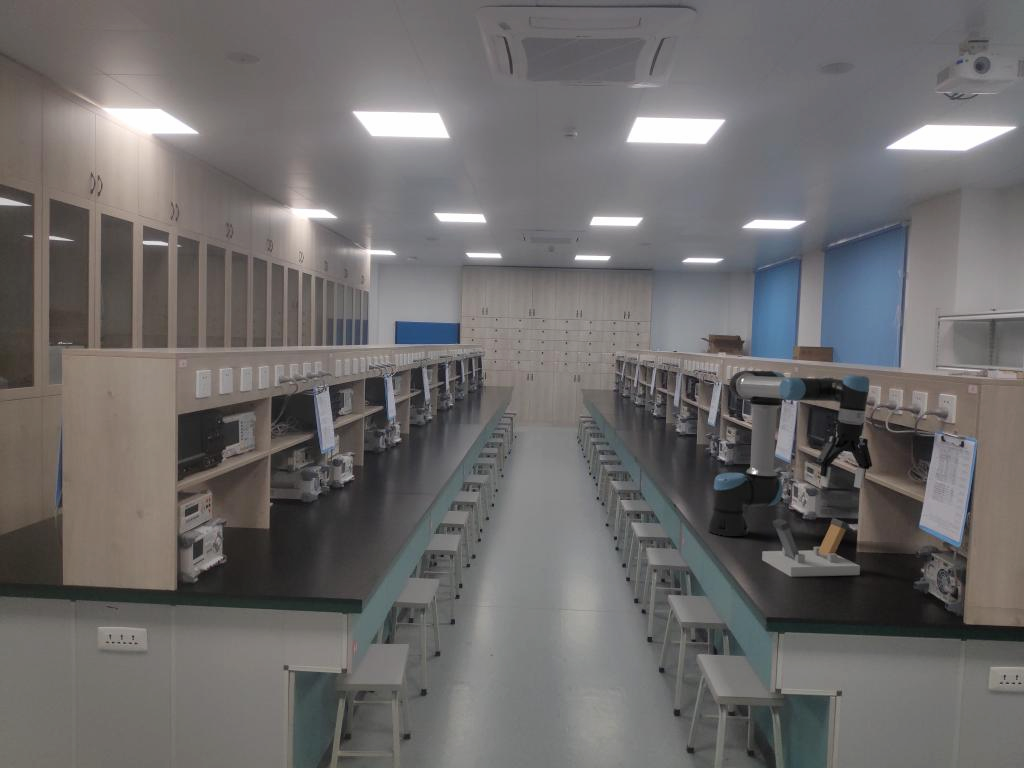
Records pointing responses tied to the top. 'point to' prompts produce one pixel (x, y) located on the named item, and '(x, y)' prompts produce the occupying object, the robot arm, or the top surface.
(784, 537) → the grey lever
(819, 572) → the control panel
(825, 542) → the orange lever
